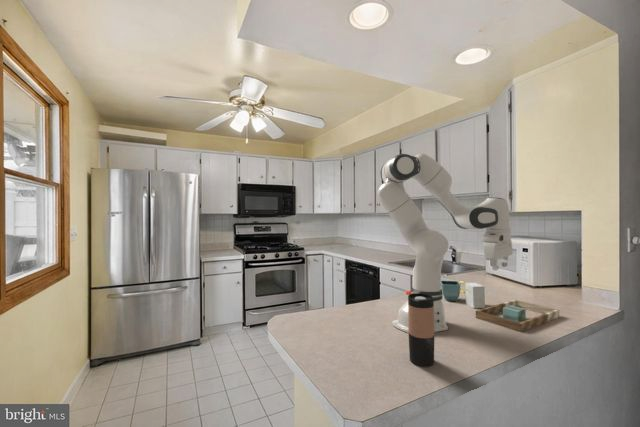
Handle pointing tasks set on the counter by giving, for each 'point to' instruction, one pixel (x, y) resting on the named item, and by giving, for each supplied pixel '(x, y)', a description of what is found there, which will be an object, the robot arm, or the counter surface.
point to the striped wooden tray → (522, 326)
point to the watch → (463, 283)
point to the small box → (475, 295)
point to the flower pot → (450, 290)
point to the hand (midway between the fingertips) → (500, 268)
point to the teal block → (514, 313)
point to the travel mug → (421, 329)
